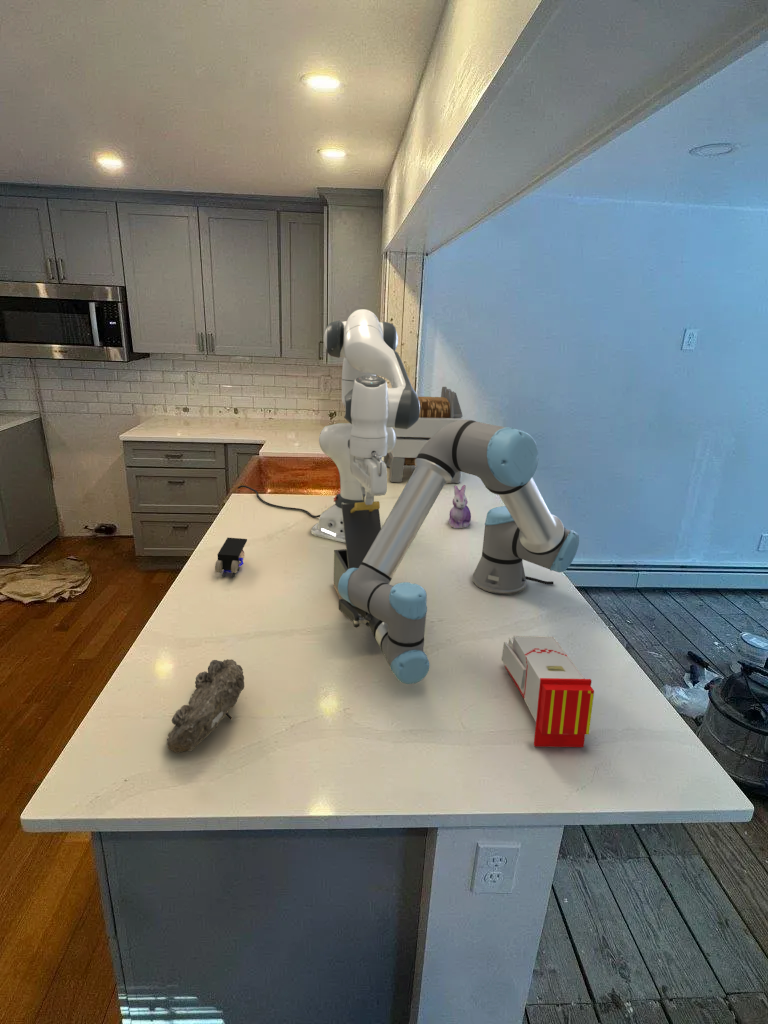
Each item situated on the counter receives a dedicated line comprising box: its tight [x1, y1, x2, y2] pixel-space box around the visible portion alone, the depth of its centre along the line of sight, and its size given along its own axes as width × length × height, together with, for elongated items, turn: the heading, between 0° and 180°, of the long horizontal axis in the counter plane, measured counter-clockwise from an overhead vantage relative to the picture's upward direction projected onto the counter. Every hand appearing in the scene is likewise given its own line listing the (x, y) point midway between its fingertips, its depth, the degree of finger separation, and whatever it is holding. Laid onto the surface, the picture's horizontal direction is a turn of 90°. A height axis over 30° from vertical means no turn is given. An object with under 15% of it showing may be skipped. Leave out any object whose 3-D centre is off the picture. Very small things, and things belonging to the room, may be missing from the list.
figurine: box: [448, 484, 472, 529], centre depth 208 cm, size 9×10×15 cm
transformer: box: [383, 386, 465, 484], centre depth 268 cm, size 34×33×41 cm
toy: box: [501, 635, 595, 748], centre depth 115 cm, size 12×13×30 cm
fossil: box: [166, 658, 245, 754], centre depth 106 cm, size 22×10×15 cm
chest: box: [333, 548, 348, 599], centre depth 152 cm, size 18×10×11 cm, turn 18°
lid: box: [341, 500, 382, 569], centre depth 141 cm, size 18×10×8 cm
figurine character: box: [214, 537, 248, 578], centre depth 166 cm, size 7×8×15 cm
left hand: (367, 502), depth 139 cm, fingers closed
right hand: (363, 586), depth 147 cm, fingers closed on chest, 9 cm apart
